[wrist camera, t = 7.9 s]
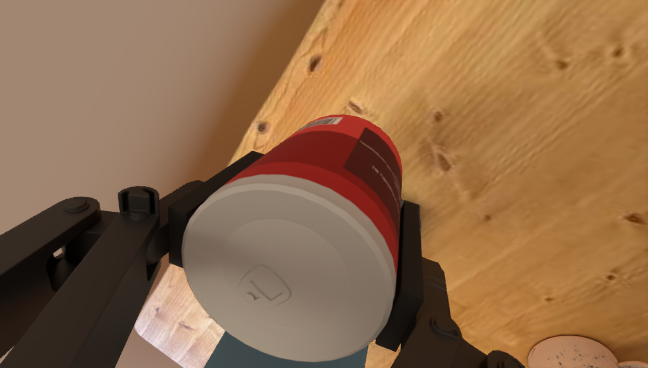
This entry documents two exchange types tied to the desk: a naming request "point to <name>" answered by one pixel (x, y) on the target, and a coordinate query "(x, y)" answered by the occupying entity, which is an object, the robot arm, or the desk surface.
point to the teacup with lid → (575, 354)
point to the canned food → (303, 243)
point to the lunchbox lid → (271, 357)
